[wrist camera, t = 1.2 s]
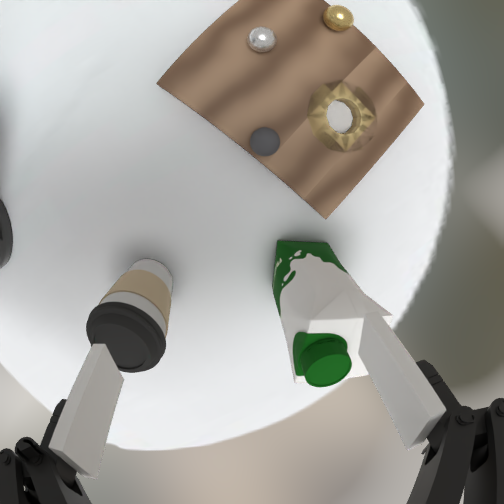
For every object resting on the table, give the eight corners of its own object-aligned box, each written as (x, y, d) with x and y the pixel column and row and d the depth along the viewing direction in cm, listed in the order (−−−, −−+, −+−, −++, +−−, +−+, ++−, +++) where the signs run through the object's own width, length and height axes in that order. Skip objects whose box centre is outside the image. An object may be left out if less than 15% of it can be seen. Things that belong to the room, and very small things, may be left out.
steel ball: (240, 44, 25) (241, 35, 22) (258, 27, 24) (261, 17, 21) (262, 60, 26) (265, 52, 23) (280, 43, 25) (285, 34, 22)
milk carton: (271, 233, 37) (312, 331, 19) (335, 236, 38) (414, 323, 19) (265, 291, 40) (291, 405, 22) (324, 291, 41) (379, 393, 23)
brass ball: (313, 20, 24) (322, 9, 21) (330, 6, 23) (340, -4, 20) (336, 39, 25) (347, 30, 22) (352, 25, 24) (364, 16, 21)
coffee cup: (166, 243, 36) (134, 307, 22) (190, 299, 40) (177, 376, 26) (111, 262, 37) (64, 325, 23) (137, 313, 40) (109, 385, 26)
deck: (161, 87, 28) (156, 83, 26) (276, -22, 23) (279, -30, 20) (319, 214, 36) (325, 219, 34) (414, 104, 31) (424, 104, 28)
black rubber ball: (242, 143, 30) (244, 143, 27) (261, 122, 29) (265, 120, 26) (264, 161, 31) (268, 163, 28) (283, 140, 30) (289, 140, 27)
